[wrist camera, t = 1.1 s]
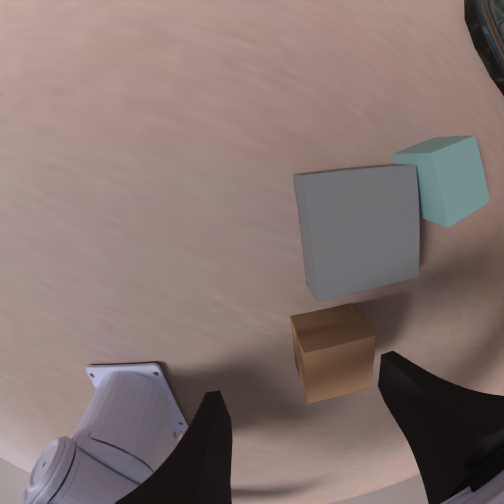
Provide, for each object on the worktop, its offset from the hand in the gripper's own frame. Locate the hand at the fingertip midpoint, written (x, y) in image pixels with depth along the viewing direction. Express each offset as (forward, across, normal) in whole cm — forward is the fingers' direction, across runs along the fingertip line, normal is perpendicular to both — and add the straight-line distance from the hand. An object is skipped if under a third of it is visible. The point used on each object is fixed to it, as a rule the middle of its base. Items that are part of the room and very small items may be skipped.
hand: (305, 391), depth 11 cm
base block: (+10, -6, -4) cm, 13 cm away
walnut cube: (+10, -3, +5) cm, 12 cm away
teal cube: (+10, -14, -7) cm, 19 cm away
